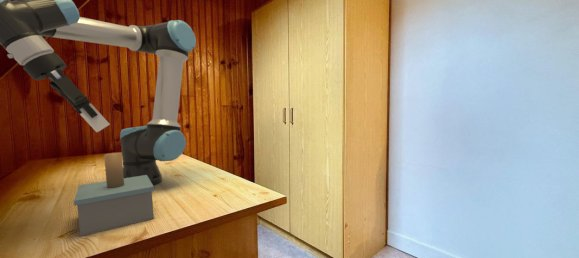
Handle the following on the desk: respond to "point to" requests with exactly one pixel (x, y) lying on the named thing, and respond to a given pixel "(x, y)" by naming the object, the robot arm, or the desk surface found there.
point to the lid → (112, 183)
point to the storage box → (115, 212)
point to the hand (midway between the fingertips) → (103, 128)
